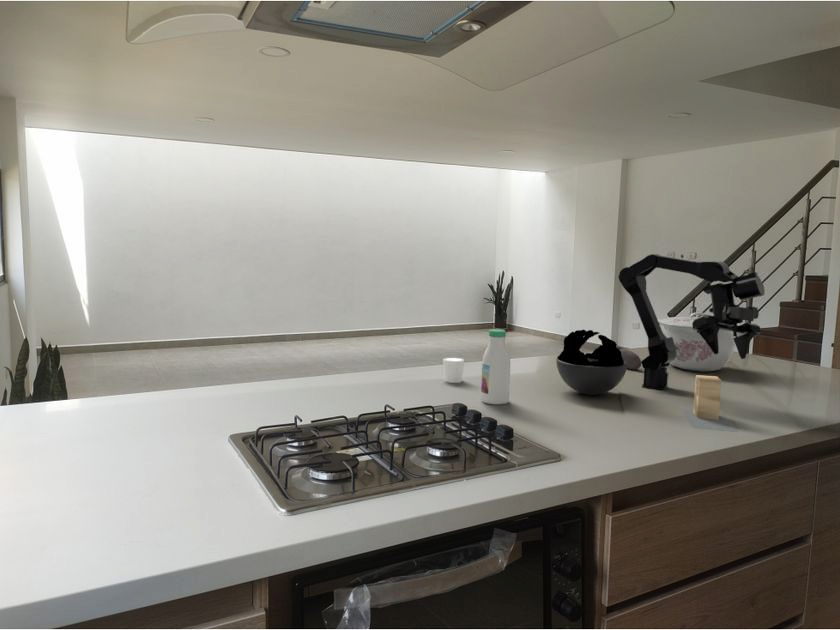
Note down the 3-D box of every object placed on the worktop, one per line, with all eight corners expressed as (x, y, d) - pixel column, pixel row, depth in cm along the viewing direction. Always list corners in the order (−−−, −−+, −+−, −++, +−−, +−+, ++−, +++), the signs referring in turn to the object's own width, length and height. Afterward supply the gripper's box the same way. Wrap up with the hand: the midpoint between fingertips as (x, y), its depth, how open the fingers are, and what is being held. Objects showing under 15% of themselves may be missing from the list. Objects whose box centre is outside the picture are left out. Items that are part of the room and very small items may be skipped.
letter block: (693, 412, 154) (695, 374, 153) (713, 414, 152) (716, 376, 151) (696, 417, 149) (699, 379, 148) (718, 419, 148) (721, 380, 146)
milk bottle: (511, 399, 164) (514, 329, 162) (506, 406, 157) (508, 332, 155) (484, 396, 167) (486, 327, 165) (478, 403, 160) (480, 331, 157)
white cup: (439, 381, 184) (439, 360, 183) (446, 377, 191) (447, 356, 190) (460, 384, 182) (460, 362, 181) (466, 379, 188) (467, 358, 187)
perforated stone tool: (645, 371, 207) (646, 352, 206) (634, 372, 205) (635, 353, 204) (615, 363, 221) (616, 345, 220) (604, 364, 219) (605, 346, 218)
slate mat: (681, 410, 157) (681, 409, 157) (722, 413, 154) (722, 412, 154) (693, 429, 140) (693, 427, 140) (739, 433, 138) (739, 431, 138)
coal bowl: (558, 383, 185) (561, 324, 183) (625, 389, 179) (629, 328, 177) (550, 398, 167) (553, 333, 164) (625, 406, 160) (629, 338, 158)
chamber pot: (753, 377, 201) (758, 317, 198) (673, 375, 201) (677, 315, 199) (713, 361, 228) (718, 308, 226) (643, 359, 229) (646, 307, 226)
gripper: (718, 288, 157) (725, 343, 151) (772, 299, 162) (781, 353, 157) (688, 302, 167) (694, 354, 161) (740, 312, 172) (747, 363, 167)
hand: (730, 356), depth 161 cm, fingers open, 9 cm apart
